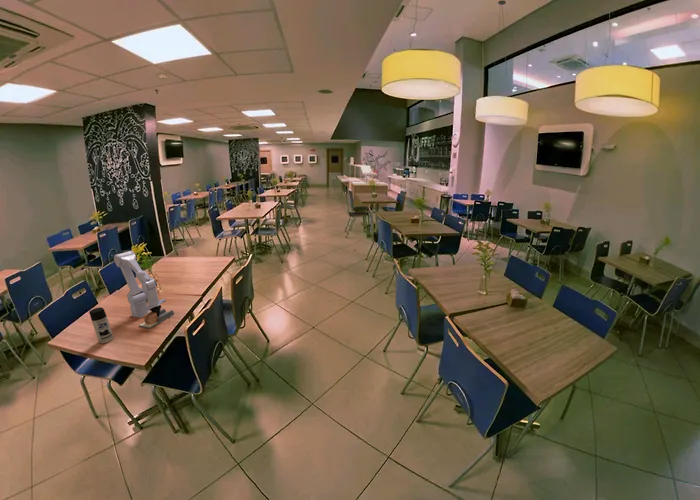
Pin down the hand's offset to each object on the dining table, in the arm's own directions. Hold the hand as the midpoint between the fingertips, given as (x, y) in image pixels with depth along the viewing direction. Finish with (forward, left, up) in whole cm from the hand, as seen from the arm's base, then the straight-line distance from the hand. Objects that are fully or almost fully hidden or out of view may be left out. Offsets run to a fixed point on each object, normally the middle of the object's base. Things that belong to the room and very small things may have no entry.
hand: (157, 316), depth 188 cm
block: (0, -4, -1) cm, 5 cm away
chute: (0, -1, -2) cm, 2 cm away
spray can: (-9, -26, -3) cm, 27 cm away
